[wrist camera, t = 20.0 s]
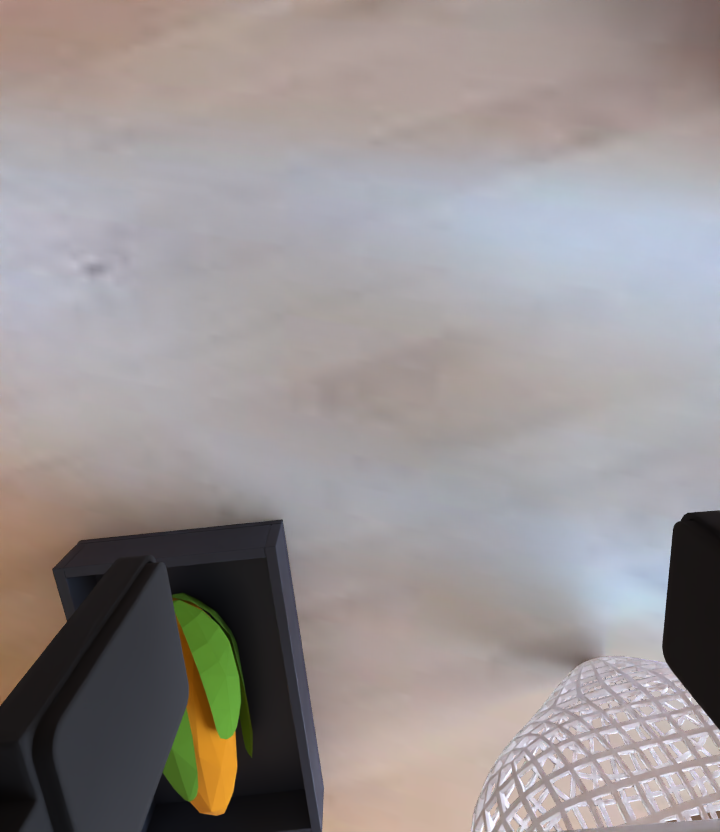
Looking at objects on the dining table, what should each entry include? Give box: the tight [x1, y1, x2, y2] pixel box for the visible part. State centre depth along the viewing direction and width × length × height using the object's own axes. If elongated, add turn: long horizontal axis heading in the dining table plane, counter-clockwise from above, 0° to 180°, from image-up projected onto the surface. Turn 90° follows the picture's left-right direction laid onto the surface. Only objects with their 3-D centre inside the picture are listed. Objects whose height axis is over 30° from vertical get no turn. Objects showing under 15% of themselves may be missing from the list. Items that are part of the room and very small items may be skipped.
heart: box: [471, 656, 720, 832], centre depth 34 cm, size 28×16×22 cm, turn 105°
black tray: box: [52, 520, 324, 832], centre depth 43 cm, size 16×27×4 cm, turn 6°
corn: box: [163, 593, 253, 816], centre depth 40 cm, size 7×8×20 cm
